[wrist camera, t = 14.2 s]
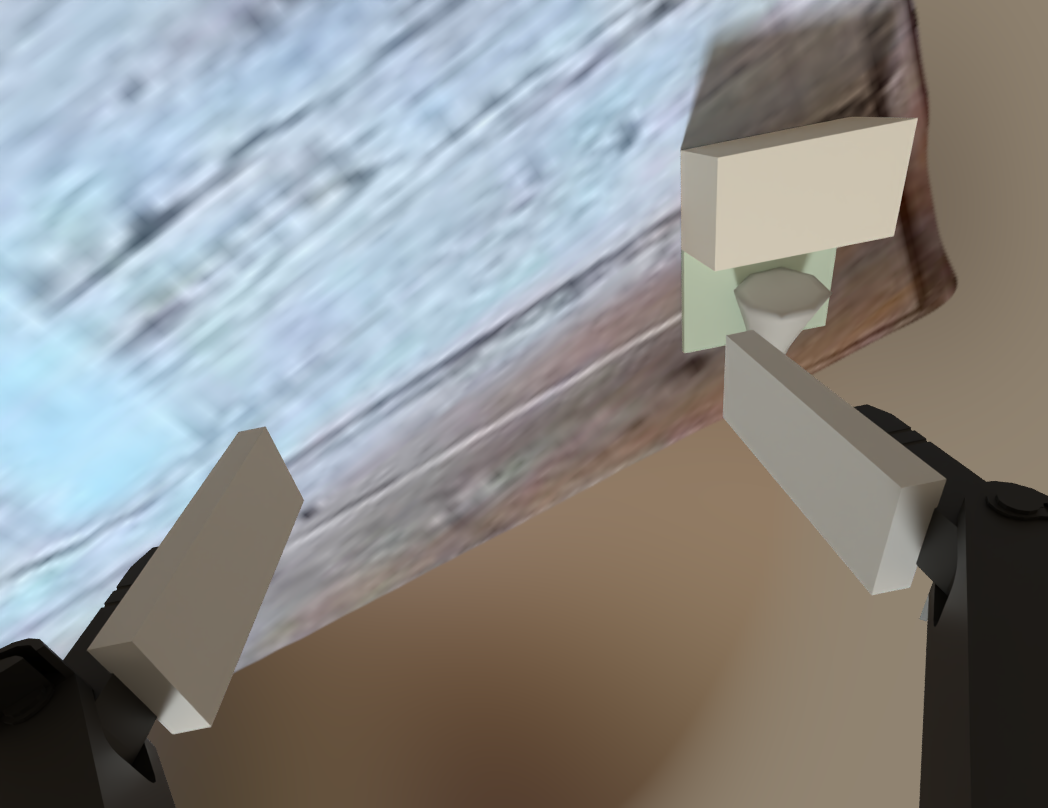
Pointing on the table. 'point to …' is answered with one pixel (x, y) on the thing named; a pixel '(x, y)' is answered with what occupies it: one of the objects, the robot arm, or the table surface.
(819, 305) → the flask
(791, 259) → the mat
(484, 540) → the table surface
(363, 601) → the table surface
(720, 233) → the block
